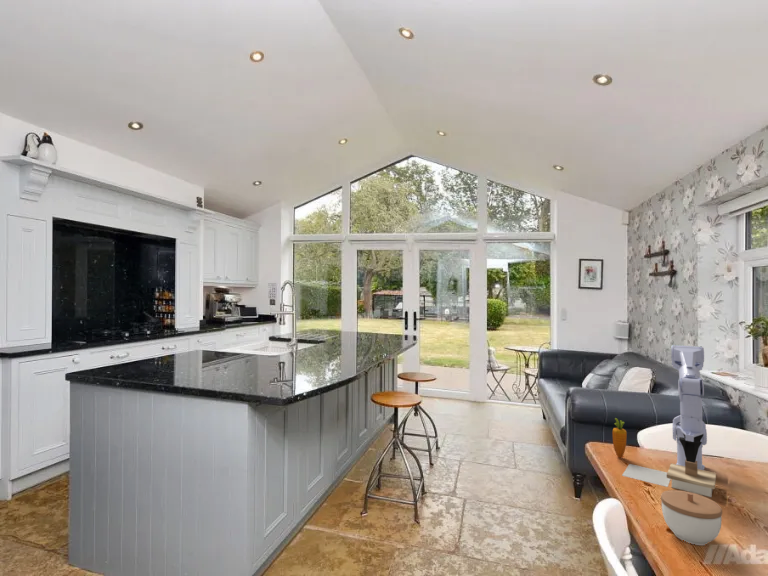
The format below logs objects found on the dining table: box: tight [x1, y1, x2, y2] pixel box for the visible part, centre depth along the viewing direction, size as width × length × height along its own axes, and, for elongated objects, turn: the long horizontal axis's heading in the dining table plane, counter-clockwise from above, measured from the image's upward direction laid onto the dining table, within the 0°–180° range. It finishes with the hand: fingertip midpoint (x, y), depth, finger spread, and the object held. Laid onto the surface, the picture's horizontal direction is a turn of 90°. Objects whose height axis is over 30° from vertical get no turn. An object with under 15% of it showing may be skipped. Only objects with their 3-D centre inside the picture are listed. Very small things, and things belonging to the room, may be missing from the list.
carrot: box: [612, 417, 628, 459], centre depth 157 cm, size 5×5×15 cm
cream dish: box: [671, 479, 714, 498], centre depth 132 cm, size 10×10×4 cm
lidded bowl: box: [660, 489, 723, 546], centre depth 105 cm, size 13×13×11 cm
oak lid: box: [667, 460, 717, 490], centre depth 133 cm, size 12×12×5 cm
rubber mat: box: [621, 463, 672, 488], centre depth 141 cm, size 13×13×1 cm
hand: (691, 458), depth 133 cm, fingers open, 7 cm apart
